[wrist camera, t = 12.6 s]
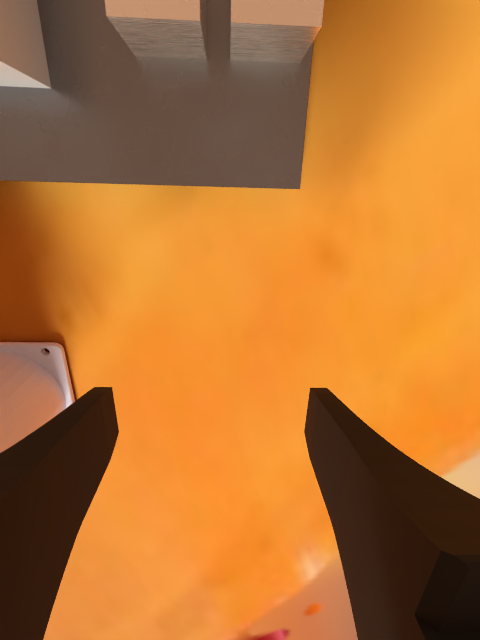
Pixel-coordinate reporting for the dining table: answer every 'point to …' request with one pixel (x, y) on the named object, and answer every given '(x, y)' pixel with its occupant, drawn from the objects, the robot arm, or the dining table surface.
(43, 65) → the cap
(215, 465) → the dining table surface
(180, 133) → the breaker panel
